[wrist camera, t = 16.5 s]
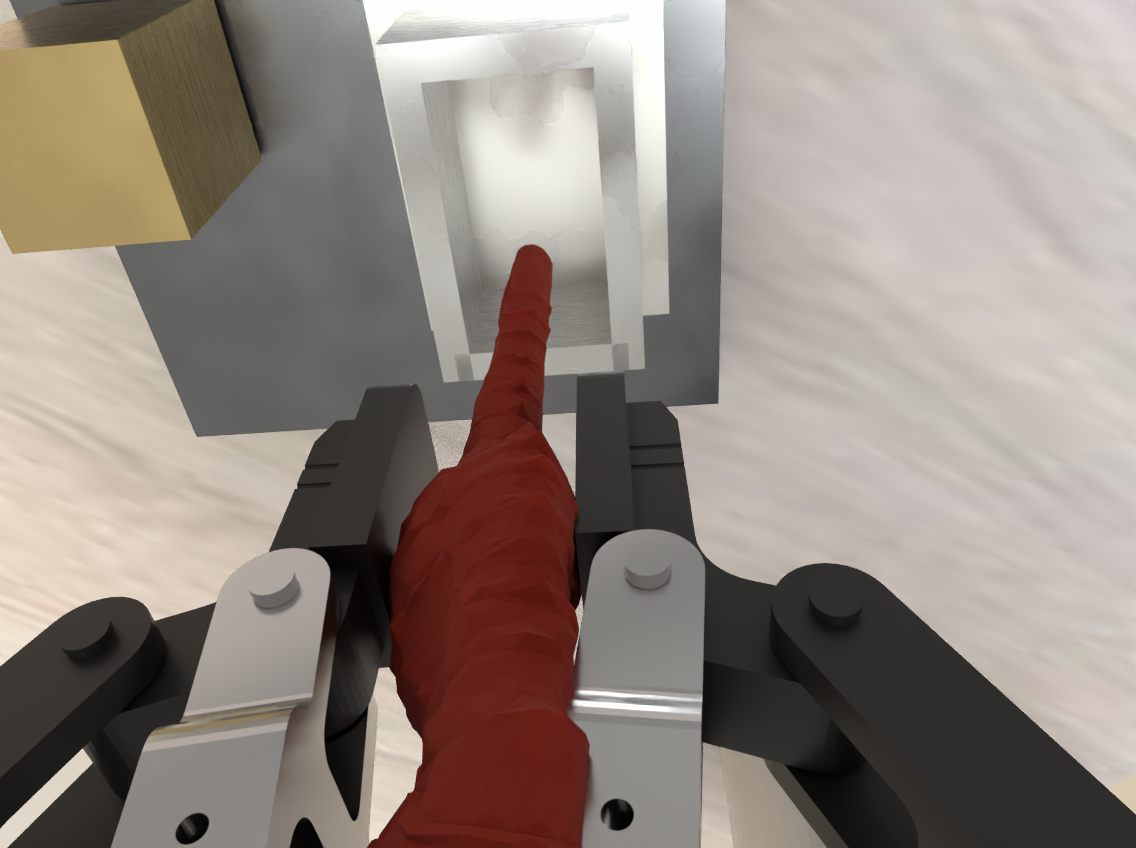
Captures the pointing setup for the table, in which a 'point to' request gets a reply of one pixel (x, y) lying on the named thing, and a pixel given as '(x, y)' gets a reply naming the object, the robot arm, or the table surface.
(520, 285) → the toy
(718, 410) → the table surface
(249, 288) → the press frame
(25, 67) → the slider
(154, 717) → the robot arm
